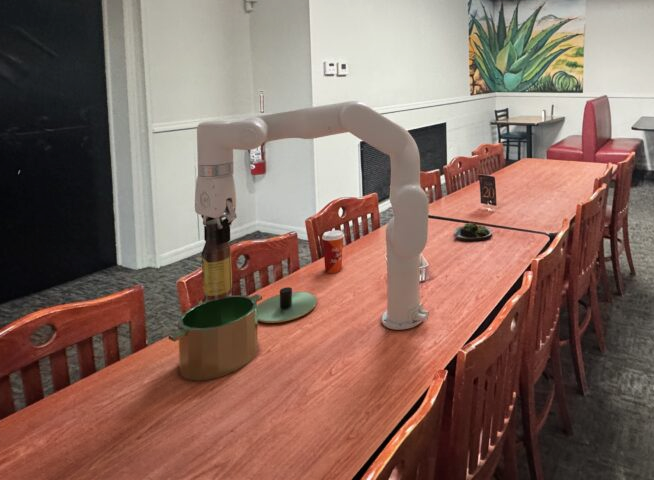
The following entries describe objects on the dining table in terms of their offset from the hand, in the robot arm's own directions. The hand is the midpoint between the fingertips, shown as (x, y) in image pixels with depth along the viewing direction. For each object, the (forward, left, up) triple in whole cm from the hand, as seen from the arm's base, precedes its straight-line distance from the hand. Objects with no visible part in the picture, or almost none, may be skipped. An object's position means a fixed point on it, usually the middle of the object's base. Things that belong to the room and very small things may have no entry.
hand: (217, 240), depth 114 cm
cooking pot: (0, 0, -31) cm, 31 cm away
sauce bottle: (0, 0, -15) cm, 15 cm away
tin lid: (+6, -24, -30) cm, 39 cm away
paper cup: (+15, -51, -31) cm, 62 cm away
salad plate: (-13, -106, -31) cm, 111 cm away
